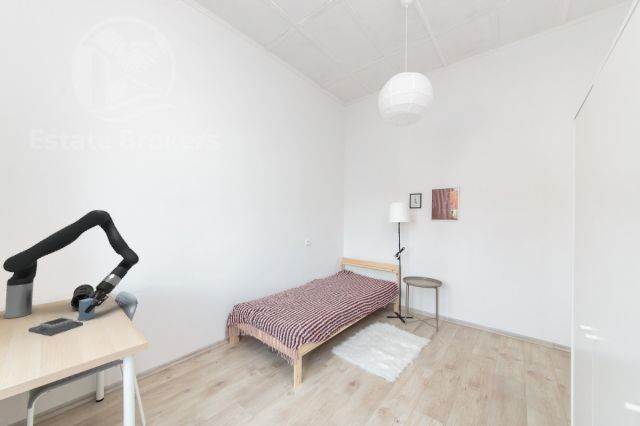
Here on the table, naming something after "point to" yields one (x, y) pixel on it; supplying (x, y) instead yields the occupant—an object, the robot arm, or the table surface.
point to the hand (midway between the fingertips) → (82, 311)
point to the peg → (83, 306)
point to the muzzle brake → (80, 294)
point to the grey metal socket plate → (55, 326)
